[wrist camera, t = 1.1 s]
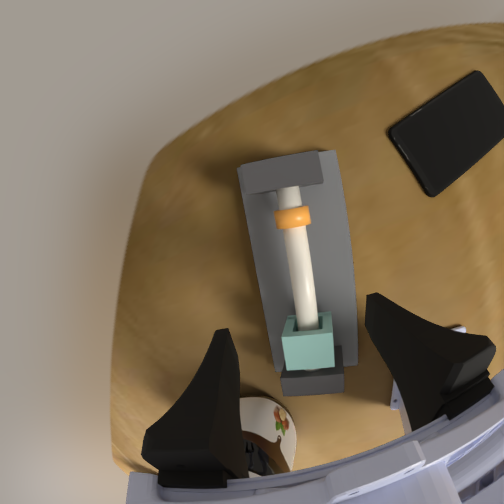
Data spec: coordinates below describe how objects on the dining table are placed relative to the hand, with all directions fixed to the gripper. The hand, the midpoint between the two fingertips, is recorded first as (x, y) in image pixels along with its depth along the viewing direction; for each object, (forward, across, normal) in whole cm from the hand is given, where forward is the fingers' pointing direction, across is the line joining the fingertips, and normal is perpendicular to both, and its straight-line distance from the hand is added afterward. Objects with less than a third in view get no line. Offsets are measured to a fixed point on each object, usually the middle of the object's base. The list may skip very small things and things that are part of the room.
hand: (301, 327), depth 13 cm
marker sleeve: (+6, -2, +7) cm, 9 cm away
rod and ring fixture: (+10, -2, +3) cm, 10 cm away
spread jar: (+8, +7, +20) cm, 22 cm away
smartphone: (+9, -19, -8) cm, 23 cm away
